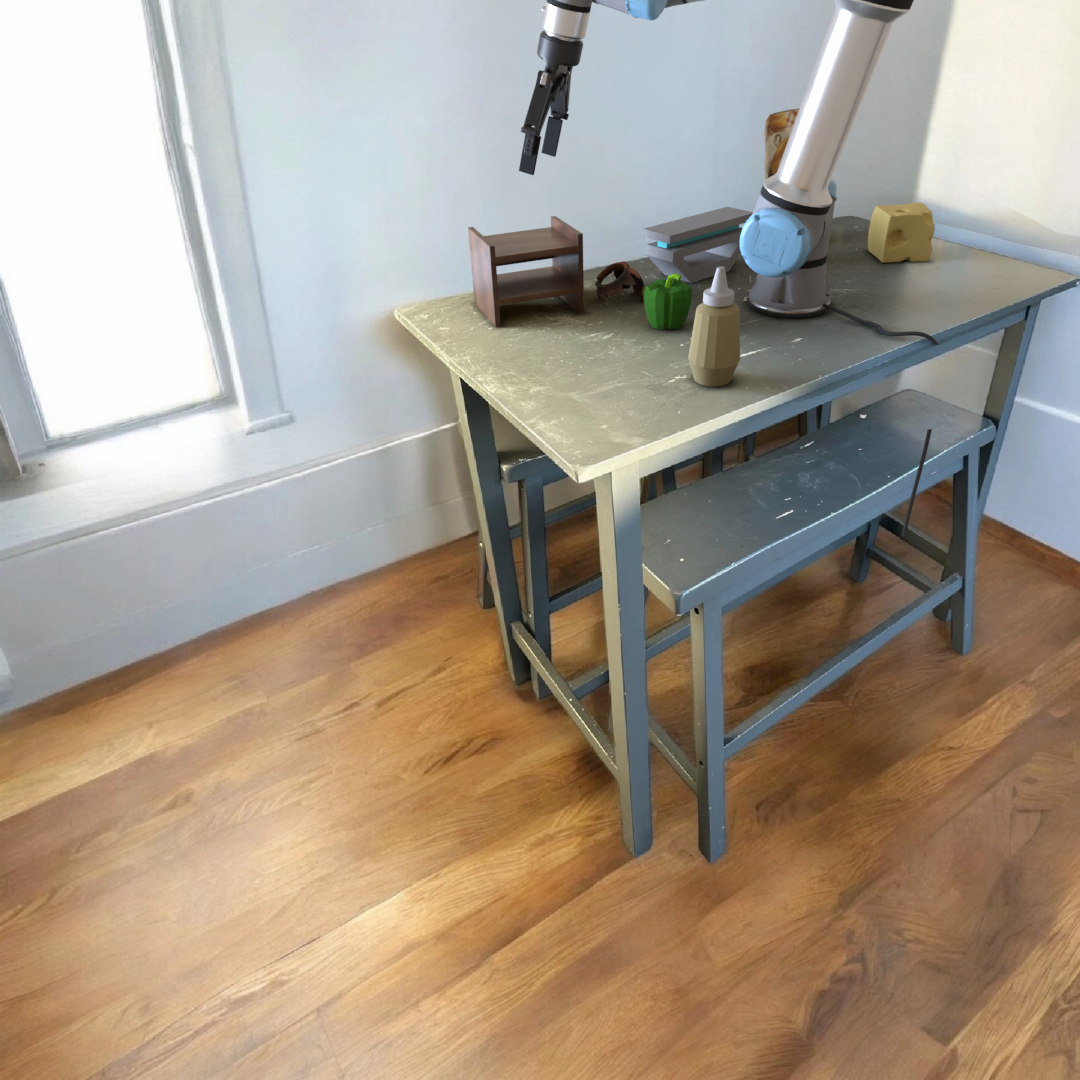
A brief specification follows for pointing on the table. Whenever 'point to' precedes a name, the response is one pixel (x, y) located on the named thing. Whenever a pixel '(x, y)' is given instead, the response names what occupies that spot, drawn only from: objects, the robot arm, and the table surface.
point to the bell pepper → (667, 302)
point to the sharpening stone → (697, 243)
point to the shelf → (527, 284)
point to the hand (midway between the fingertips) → (537, 163)
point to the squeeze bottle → (715, 335)
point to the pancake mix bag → (777, 138)
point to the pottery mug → (619, 280)
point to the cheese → (901, 232)
